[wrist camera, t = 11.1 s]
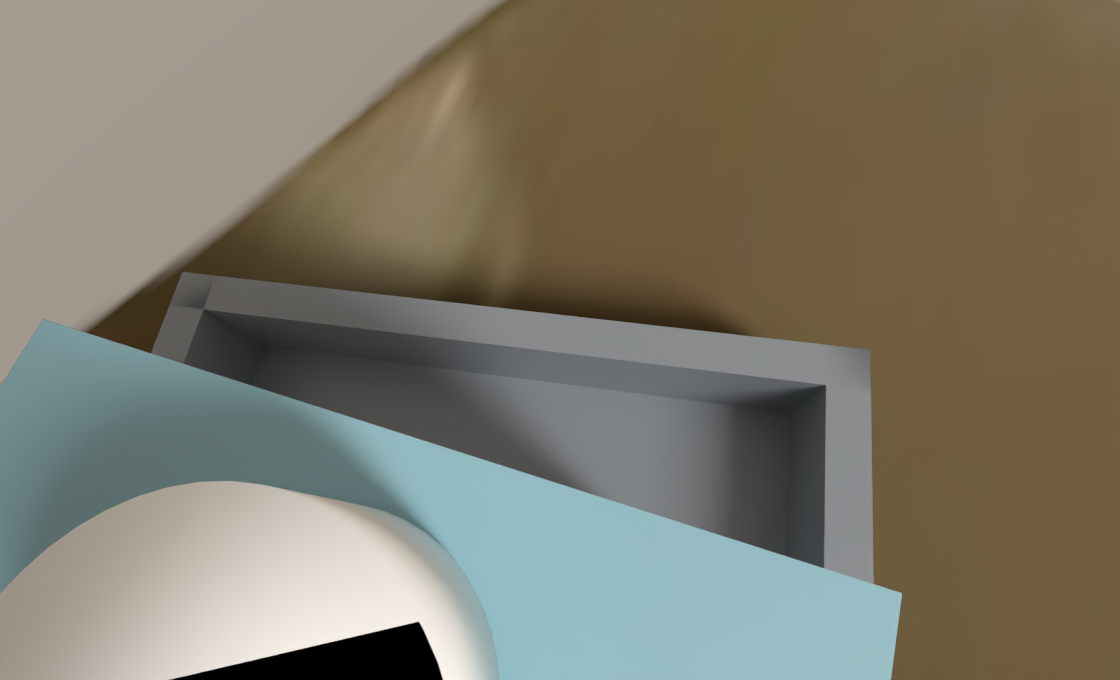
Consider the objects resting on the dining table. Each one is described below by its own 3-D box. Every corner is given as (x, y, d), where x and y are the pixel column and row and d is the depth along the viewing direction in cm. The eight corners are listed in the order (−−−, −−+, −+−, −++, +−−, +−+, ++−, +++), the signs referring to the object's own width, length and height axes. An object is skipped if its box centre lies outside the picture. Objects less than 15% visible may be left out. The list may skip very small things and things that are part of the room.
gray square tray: (803, 1172, 13) (885, 1434, 9) (49, 961, 15) (-141, 1100, 11) (816, 392, 18) (870, 350, 14) (261, 323, 20) (182, 271, 17)
